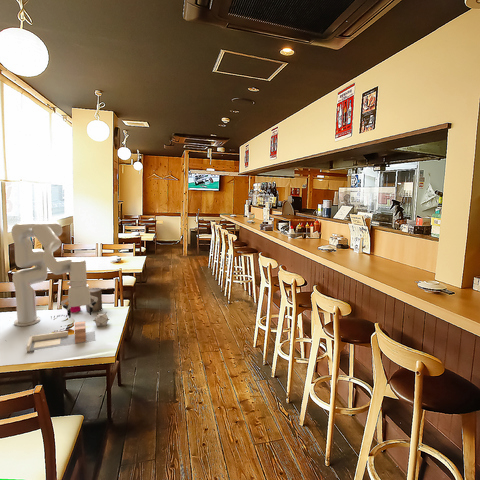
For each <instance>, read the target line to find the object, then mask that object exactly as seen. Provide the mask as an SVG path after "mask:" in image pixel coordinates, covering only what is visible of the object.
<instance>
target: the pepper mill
mask: <svg viewBox="0 0 480 480" xmlns="http://www.w3.org/2000/svg"><path fill="white" fill-rule="evenodd" d="M68 286H69V287H70V286H71V285H68ZM69 287H68V288H69ZM81 307H82V306H76V307H71V308H70V309H71V313H73V314H75V313H79V312H81Z"/></svg>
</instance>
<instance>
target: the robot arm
mask: <svg viewBox="0 0 480 480" xmlns="http://www.w3.org/2000/svg"><path fill="white" fill-rule="evenodd" d="M10 232H11V237H12V240H13V243H14V260H15V262H14V263H15V265H16V266H17V267H19V268H23V269H20V270H19V269H18V270H17V271H15V272H14V273H13V274H12V275H11V276H12V277H11V278H12V282H13V286H14V291H15V302H16V304H15V305H16V318H17V319H16V320H14V322H13V323H14V325H15V326H17V327H25V326H32V325H35V324H37V323H39V322H41V318H40V317H39V316H38V315H37V296H36V291H35V289H34V288H33V287H32V285H34V284H40V283H42V282H45V281H46V279H48V270H49V272H51V273H52V274H53V275H55V276H57V275H63V274H66V273H69V279H70V280H69V281H67V282H66V283H67V284H66V285H67V286H70V285H71V286H70V287H68V294H67V295H68V296H67V297H66V298H65V299H63V300H61V301H60V305H61V306H62V308H63V309H65V310H66V311H67V317H68V318H69V319H70V318H72V312H71V309H70V308H71V307H76V306H80V307H83V306H85V307H86V305H89V306H90V307H89V308H90V312H89V315H90V316H92V313H94V312H93V308H92V307H93V306H94V305H95V304H96V302H97V300H98V298H97V297H94V296H91V295H90V290H89V288H90V287H89V284H88V281H87V280H88V279H87V276H88V275H87V262H86V260H85V259H83V258H77V257H74V256H71V257H65V258H58V259H56V258H55V256H54V255H53V253H55V252H56V251H57V250H59V248H60V247H61V245H62V241H61V239H60V238H59V237H60V236H61V235H62V234H63V227H62V225H61V224H60V223H59V222H57V221H45V220H43V221H40V220H39V221H26V222H24V221H23V222H19V223H16V224H14V225H13V226H12V227H11V231H10ZM30 238H36V239H37V240H38V242H39V243H40V244H41V246H42V248H43V249H41V248H34V247H33V241H32V240H31V239H30ZM33 248H34V249H33ZM90 298H91V299H94V302H93V303H91V299H90ZM66 303H68V305H66Z"/></svg>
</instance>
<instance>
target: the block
mask: <svg viewBox="0 0 480 480" xmlns="http://www.w3.org/2000/svg"><path fill="white" fill-rule="evenodd" d="M86 331H87V330H86V320H85V321H84V320H83V321H79V322H78V321H76V322H74V334H75V343H78V342H84V343H86V342H85V341H86V333H87V332H86ZM78 344H79V343H78Z"/></svg>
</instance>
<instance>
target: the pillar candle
mask: <svg viewBox="0 0 480 480" xmlns="http://www.w3.org/2000/svg"><path fill="white" fill-rule="evenodd" d="M89 290H90V295H91V296H94V297H97V298H98V300H97V302H96V304H95V305H94V306H93V307H92V308H93V313H97V312H100V311H102V310H103V299H102V298H103V297H102V296H103V295H102V288H101V287H89ZM90 299H91V298H90ZM93 302H94V299H91V303H93ZM89 307H90V306H89V305H85V309H86V312H87V313H90V308H89ZM101 309H102V310H101ZM99 310H100V311H99ZM96 311H97V312H96Z"/></svg>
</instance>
